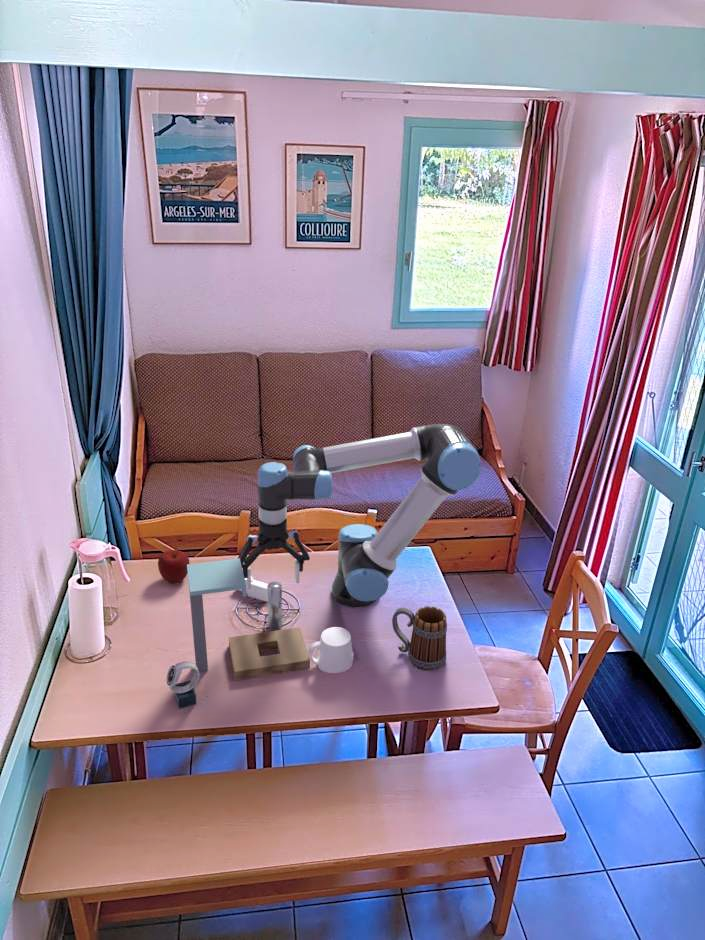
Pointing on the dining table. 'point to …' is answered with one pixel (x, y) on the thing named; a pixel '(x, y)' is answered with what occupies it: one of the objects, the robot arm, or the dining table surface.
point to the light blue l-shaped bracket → (204, 582)
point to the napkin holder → (257, 589)
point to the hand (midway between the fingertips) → (273, 583)
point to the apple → (173, 566)
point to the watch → (183, 684)
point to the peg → (274, 605)
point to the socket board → (253, 665)
